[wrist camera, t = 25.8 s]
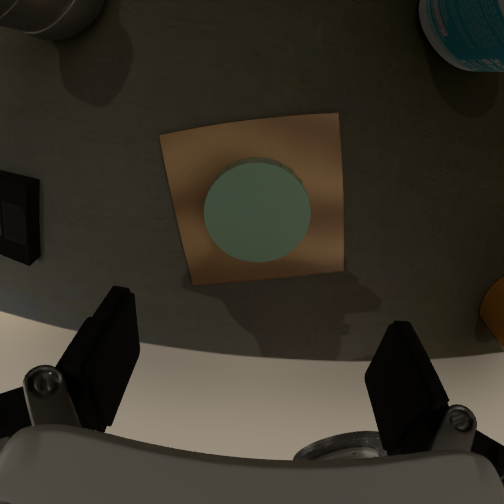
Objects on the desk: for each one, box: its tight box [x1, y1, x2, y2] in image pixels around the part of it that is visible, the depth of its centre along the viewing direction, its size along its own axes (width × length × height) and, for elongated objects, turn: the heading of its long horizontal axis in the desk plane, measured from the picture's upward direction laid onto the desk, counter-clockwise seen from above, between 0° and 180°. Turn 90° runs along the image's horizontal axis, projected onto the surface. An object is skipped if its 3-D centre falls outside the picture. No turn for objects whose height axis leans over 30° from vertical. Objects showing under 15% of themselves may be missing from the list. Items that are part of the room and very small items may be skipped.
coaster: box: [159, 113, 344, 286], centre depth 22 cm, size 12×12×1 cm
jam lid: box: [204, 156, 311, 262], centre depth 21 cm, size 7×7×2 cm
